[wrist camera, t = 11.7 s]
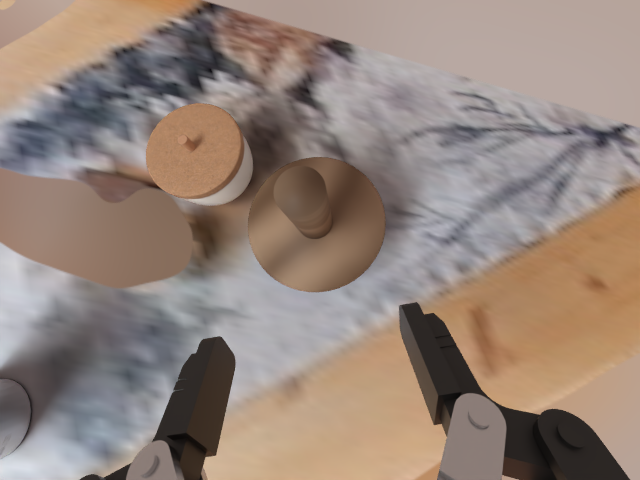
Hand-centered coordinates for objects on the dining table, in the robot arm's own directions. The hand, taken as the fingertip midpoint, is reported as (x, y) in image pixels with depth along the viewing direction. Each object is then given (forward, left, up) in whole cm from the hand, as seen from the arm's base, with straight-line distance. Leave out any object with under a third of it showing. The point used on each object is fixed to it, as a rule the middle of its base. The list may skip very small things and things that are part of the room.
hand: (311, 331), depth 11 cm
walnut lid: (-6, +6, -14) cm, 17 cm away
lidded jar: (-21, +5, -20) cm, 29 cm away
